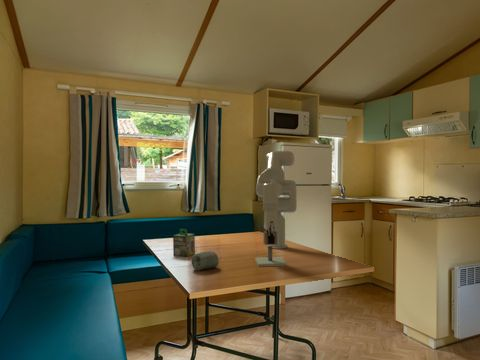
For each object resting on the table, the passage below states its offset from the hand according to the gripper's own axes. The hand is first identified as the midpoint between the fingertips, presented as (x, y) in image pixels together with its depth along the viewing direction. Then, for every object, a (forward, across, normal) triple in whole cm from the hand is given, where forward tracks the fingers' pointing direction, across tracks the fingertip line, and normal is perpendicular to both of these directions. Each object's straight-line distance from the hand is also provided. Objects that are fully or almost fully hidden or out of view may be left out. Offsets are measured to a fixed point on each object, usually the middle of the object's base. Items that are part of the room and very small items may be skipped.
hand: (270, 242), depth 176 cm
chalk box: (+11, -22, -46) cm, 52 cm away
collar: (+1, 0, 0) cm, 1 cm away
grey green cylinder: (+11, +10, -33) cm, 36 cm away
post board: (+11, 0, 0) cm, 11 cm away
